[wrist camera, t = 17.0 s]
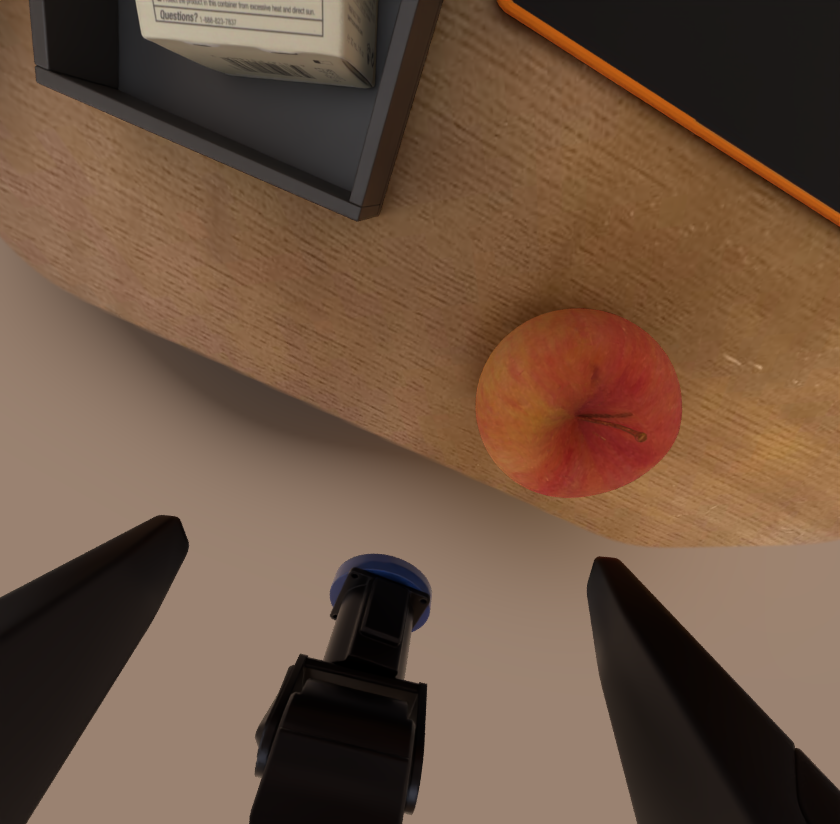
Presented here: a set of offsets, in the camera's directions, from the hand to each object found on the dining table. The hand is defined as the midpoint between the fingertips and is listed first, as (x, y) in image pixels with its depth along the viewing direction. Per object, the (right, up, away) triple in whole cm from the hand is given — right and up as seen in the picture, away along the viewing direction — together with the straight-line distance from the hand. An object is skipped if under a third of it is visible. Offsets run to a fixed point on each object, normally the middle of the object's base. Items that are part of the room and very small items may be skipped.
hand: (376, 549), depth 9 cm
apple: (+7, +5, +11) cm, 14 cm away
